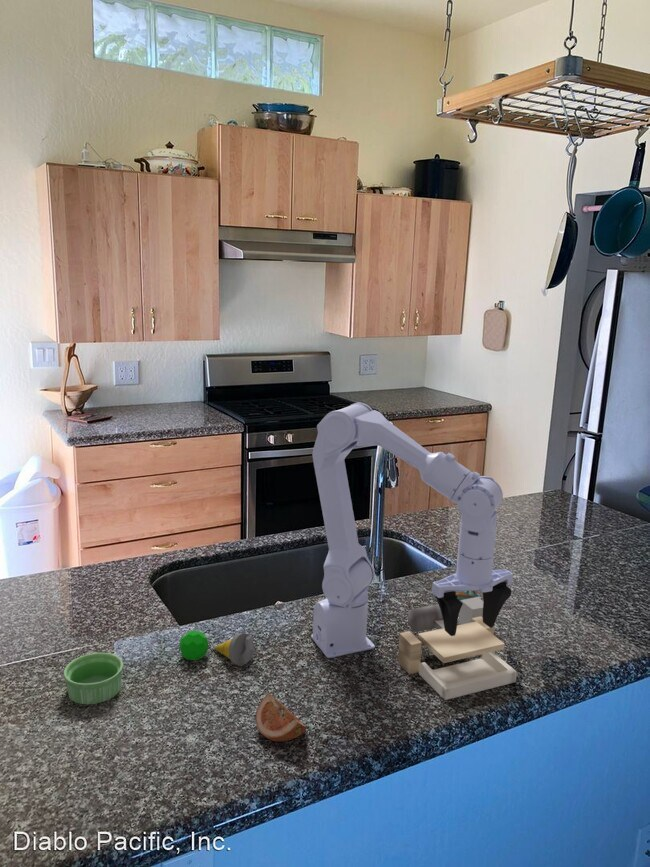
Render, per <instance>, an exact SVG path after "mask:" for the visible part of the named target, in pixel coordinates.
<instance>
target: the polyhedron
mask: <svg viewBox="0 0 650 867" xmlns="http://www.w3.org/2000/svg"><path fill="white" fill-rule="evenodd" d="M178 645H179V649H180V650H179V651H180V652H181V653H180V654H181V656H182V657H183V658H184V659H185V660H187V661H198V660H201V659H202V658H203V657H204V656H206V654H207V653H208V649H209V642H208V638H207V636H206V635H205V634H204V633H203V632H202V631H199V630H190V631H188V632H187V633H185V634H184V635H183V636H182V637H181V639H180V641H179V644H178Z"/></svg>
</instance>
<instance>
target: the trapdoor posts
mask: <svg viewBox="0 0 650 867" xmlns="http://www.w3.org/2000/svg"><path fill="white" fill-rule="evenodd" d="M472 622H478V623H479V624H480V625H482V626H483V627H484V628H485V629H487V630H488V631H489V632H490V633H492V634H493V635H494V636H495V625H494V626H493V627H492V628H490V627H489V626H487V625H486V624H485V623H483V618H482V617H481V616H480V617H476V618H472ZM422 645H423V643H422V642H421V641H420V640H419V639H418V637H416V636H415V634H413V632H411V631H410V630H408V631H404V632H400V633H399V638H398V654H397V663H398V664H399V665H400V667H402V668H403V670H404V671H406V673H408V674H409V675H412V674H416V673H419V663H421V659H422ZM479 656H480V657H481V658H482V654H481V655H479Z"/></svg>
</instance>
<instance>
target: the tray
mask: <svg viewBox="0 0 650 867" xmlns="http://www.w3.org/2000/svg"><path fill="white" fill-rule="evenodd" d="M517 673H518V672H517V670H516V669H514V668H513V667H512V666H511V665H509V664H508V662H506V661H505V660H503V659H502V658H501V657H500V656H498V655H497V653H495V651H494V652H489V653H485V654H482V657H481V658H477V659H473V660H469V661H464V662H461V663H457V664H453V665H447V666H445V667H439V668H434V669H432V668H431V667H430V666H429V665H428V664H427V663H426V662H425V661H424V662H420V663H419V672H418V675H419V676H420V677H421V678H422V679H423V680H424V681H425V682H426V683H427V684H428V685H429V686H430V687H431V688H432V689H433V690H434V691H435V692H436V693H437V694H438V695H439V696H440V697H441V698H442V699H443V700H444V701H448V700H451V699H455V698H458V697H462V696H463V697H464V696H467V695H470V694H474V693H478V692H482V691H486V690H489V689H495V688H498V687H502V686H507V685H510V684H513V683H516V682H517V675H518V674H517Z"/></svg>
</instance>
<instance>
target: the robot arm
mask: <svg viewBox="0 0 650 867" xmlns="http://www.w3.org/2000/svg"><path fill="white" fill-rule="evenodd" d="M316 429H317V436H316V439H315V442H314V445H313V448H312V462H313V468H314V474H315V478H316V484H317V489H318V495H319V501H320V507H321V511H322V517H323V518H322V519H323V524H324V529H325V534H326V535H325V536H326V540H327V547H328V553H327V554H326V557H325V561H324V562H323V573H324V575H323V579H322V584H321V588H322V592H323V595H324V597H325V598H324V599H323V600H320V601H317V602H315V603H314V606H313V611H312V612H313V618H312V619H313V620H312V634H311V635H310V638H311V639H312V641H313V642H315V644H316V646H317V647H318V648H319V649H320V651H321V652H322V653H323V655H324V656H325V657H326V658H328V659H331V658H336V657H341V656H346V655H350V654H355V653H360V652H365V651H369V650H374V649H375V648H376V645H375V644H374V643H373V642H372V640H370V639H369V637H368V636H367V626H368V624H367V623H368V604H369V594H368V590H369V588H368V587H369V586H370V585H371V584H372V583H373V582H374V579H375V569H374V566H373V565H372V562H371V561H370V559H369V558H368V553H367V549H366V548H364V546H363V545H361V544H360V543H359V538H358V533H357V526H356V521H355V515H354V514H355V513H354V510H353V503H352V502H353V501H352V498H351V492H350V491H351V490H350V486H349V480H348V474H347V473H348V472H347V468H346V462H345V459H346V457H347V456H348V455H349V454H350V452H351V451H352V450H354V448H355V447H371V446H379V447H381V448H382V449H384V450H386V451H387V452H389V453H391V454H392V455H394V456H396V457H397V458H398V459H400V460H402V461H403V462H405V463H407V464H409V465H410V466H412V467H413V468H415V469H417V470H418V471H419V474H420V479H421V481H422V482H423V483H425V484H426V485H428V486H429V487H431V488H432V489H434V490H435V491H437V492H438V493H439V494H441V495H442V496H443V497H445V498H447V499H448V500H450V502H452V503H454V504H456V507H457V511H458V512H459V514H460V515H461V516H460V523H459V524H460V525H459V535H458V547H457V559H456V571H455V573H452V574H451V575H449V576H446V577H444V578H442V579H439V580H436V581H433V582H432V585H431V587H432V588H431V592H432V593H431V594H433V596H434V597H435V600H436V601H437V604H439V607H440V610H441V613H442V617H443V622H444V628H445V631H446V632H447V633H448V634H449V635H450V636H455V634H456V630H457V625H458V621H459V612H460V609H461V607H462V605H463V603H462V602H461V601H460V600H458V599H457V596H456V592H462V591H466V592H467V590H469V591H472V590H475V591H480V592H481V593H482V598H483V599H482V601H483V623H485V624H486V625H487V626H489V627H490V628H492V627H493V626H494V627H495V625H496V624H495V623H496V621H497V619H498V615H499V613H500V611H501V610H502V608H503V606H504V604H506V601H507V600H508V599H509V598H510V597H511V595H512V589H511V588H510V587H508V586H509V585H512V584H513V581H514V573H513V572H512V571H510V570H508V569H506V568H504V569H493V568H494V559H495V549H496V548H495V547H496V538H497V537H496V536H497V518H498V512H497V511H496V510H497V509H499V507H500V505H501V503H502V501H503V498H504V497H503V496H504V495H503V494H504V493H503V489H502V487H501V486H500V484H499V483H498V482H497V481H496V480H495V479H494V478H493V477H491V476H488V475H481V474H480V473H478V472H477V471H472V470H470V469H468V468H466V467H465V466H464V465H463V464H461V463H459V462H458V461H457V460H455V459H456V455H454V454H452V453H451V452H448V453H447V454H446V453H444V452H443V451H439V452H438V451H437V452H430V451H428V450H427V449H426V448H425V447H423V446H422V445H421V444H419V443H418V442H417V441H416V440H414V439H413V438H412V437H411V436H409V435H407V434H406V433H405V432H403V431H402V430H401V429H399V428H398V427H397V426H396V425H394V424H393V423H391V422H390V421H389V420H388V419H387V418H386V417H385V416H384V415H383V414H382V413H381V412H379V411H378V410H375V409H373V408H371V407H370V406H369V405H368V404H366V403H363V402H355V403H352V404H350V405H348V406H346V407H343V408H341V409H337V410H332V411H330V412H328V413H327V414H326V415H324V417H323V418H322V419H321V421H319V423H318V424H317V425H316Z"/></svg>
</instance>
